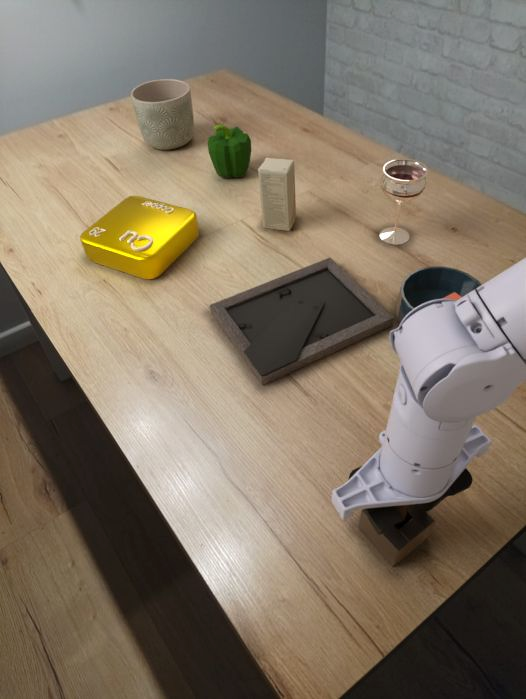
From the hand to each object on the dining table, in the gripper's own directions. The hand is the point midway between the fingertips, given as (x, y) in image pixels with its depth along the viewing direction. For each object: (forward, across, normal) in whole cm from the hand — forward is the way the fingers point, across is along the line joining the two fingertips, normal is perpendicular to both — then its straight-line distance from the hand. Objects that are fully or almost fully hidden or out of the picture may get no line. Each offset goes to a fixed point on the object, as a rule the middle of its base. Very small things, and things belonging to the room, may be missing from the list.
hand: (398, 513), depth 50 cm
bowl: (+4, -23, -24) cm, 34 cm away
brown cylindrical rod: (+4, 0, 0) cm, 4 cm away
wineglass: (+5, -29, -43) cm, 52 cm away
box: (+5, -14, -56) cm, 57 cm away
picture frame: (+5, -6, -32) cm, 33 cm away
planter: (+5, -6, -96) cm, 96 cm away
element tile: (+5, +10, -61) cm, 62 cm away
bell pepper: (+5, -13, -76) cm, 77 cm away
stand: (+4, 0, 0) cm, 4 cm away
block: (+4, -24, -22) cm, 32 cm away
